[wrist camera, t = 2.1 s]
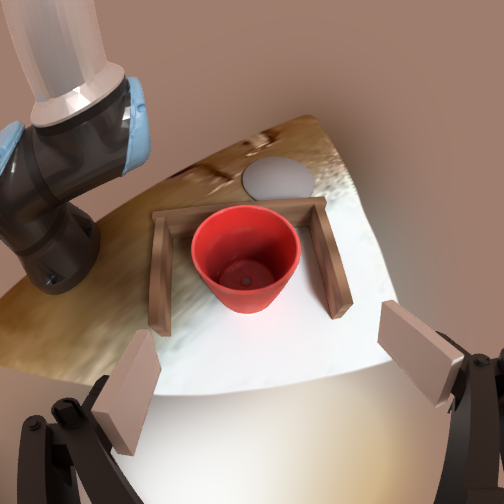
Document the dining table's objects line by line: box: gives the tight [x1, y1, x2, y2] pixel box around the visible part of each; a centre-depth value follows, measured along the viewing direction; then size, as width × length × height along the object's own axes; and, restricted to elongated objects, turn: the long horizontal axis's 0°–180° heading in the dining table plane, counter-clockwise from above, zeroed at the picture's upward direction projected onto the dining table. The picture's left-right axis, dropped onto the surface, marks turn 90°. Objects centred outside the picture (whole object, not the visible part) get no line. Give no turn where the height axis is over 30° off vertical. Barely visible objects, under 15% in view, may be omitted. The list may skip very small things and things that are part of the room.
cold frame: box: [148, 197, 353, 337], centre depth 34 cm, size 16×24×5 cm, turn 96°
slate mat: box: [243, 157, 314, 201], centre depth 45 cm, size 12×12×1 cm
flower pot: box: [191, 205, 301, 314], centre depth 31 cm, size 11×11×10 cm
